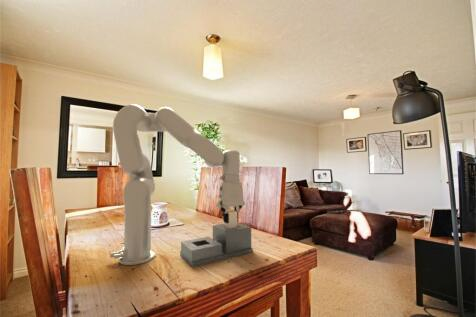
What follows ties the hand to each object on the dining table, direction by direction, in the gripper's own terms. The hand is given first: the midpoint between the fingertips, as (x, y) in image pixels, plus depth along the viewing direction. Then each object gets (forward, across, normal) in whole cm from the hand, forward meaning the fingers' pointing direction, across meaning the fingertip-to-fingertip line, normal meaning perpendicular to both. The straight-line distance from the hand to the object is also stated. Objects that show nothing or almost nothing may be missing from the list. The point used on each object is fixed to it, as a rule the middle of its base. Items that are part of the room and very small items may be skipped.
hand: (230, 221), depth 94 cm
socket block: (+12, -7, 0) cm, 14 cm away
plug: (+5, 0, 0) cm, 5 cm away
